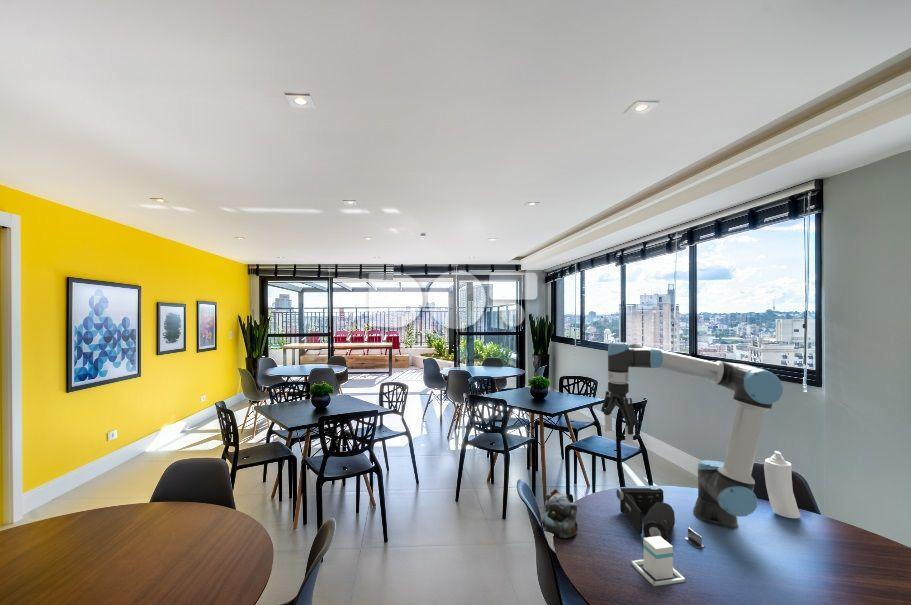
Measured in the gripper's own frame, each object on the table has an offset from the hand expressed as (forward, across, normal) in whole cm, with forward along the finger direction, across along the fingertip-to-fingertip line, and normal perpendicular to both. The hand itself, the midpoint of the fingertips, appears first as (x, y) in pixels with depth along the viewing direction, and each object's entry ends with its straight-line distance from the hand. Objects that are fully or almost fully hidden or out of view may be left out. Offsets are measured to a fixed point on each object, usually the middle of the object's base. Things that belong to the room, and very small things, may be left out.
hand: (618, 436), depth 158 cm
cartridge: (+34, +28, -5) cm, 45 cm away
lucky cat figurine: (+35, -2, -24) cm, 43 cm away
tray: (+35, +28, -5) cm, 45 cm away
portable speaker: (+36, +14, +5) cm, 39 cm away
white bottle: (+35, +5, +72) cm, 80 cm away
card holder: (+35, +16, +20) cm, 43 cm away
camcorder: (+35, 0, +13) cm, 37 cm away
